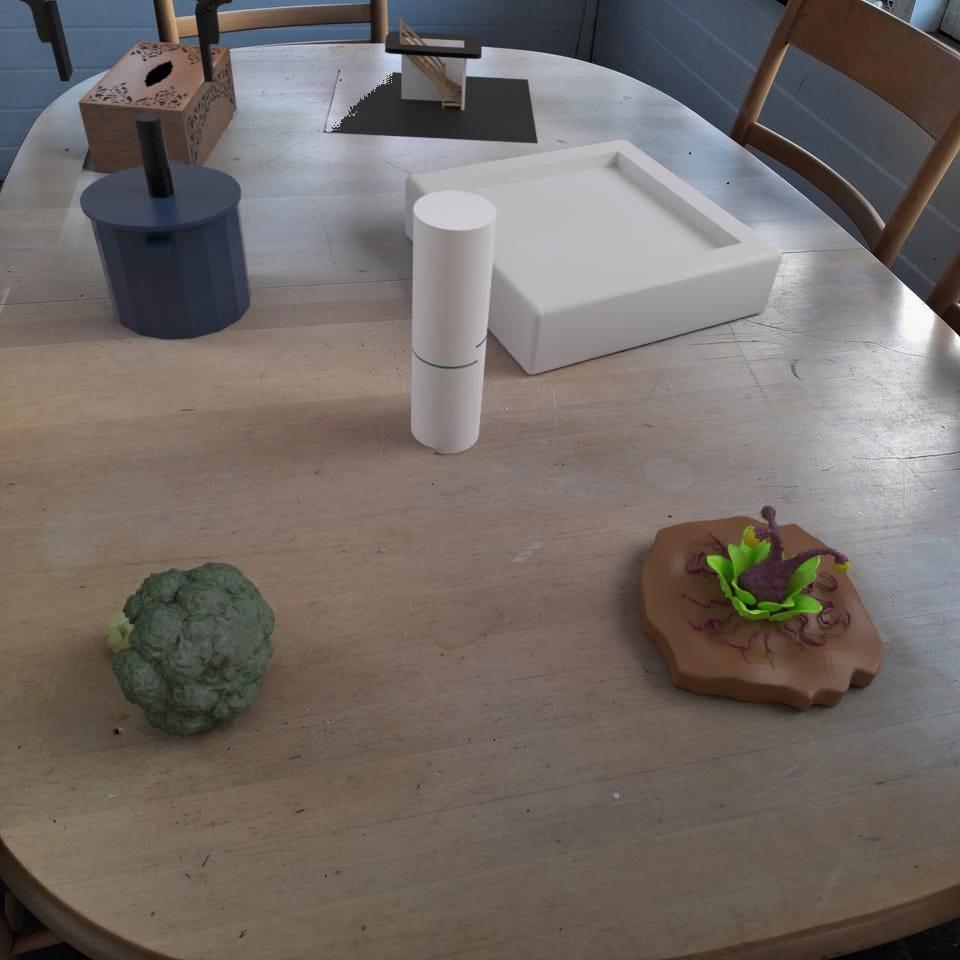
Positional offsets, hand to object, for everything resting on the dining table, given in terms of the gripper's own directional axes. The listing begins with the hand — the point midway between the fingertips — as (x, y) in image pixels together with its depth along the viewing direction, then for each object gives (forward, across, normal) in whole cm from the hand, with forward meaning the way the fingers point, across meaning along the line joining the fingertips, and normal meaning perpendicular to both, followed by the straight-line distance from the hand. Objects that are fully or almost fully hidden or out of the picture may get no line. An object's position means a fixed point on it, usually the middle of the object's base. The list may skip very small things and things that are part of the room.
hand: (139, 77), depth 90 cm
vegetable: (+26, +4, -54) cm, 60 cm away
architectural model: (+27, +38, +61) cm, 77 cm away
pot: (+27, 0, 0) cm, 27 cm away
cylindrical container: (+26, +28, -26) cm, 47 cm away
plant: (+26, +51, -53) cm, 78 cm away
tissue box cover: (+27, -5, +47) cm, 55 cm away
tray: (+26, +50, +4) cm, 57 cm away
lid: (+12, 0, -2) cm, 12 cm away
